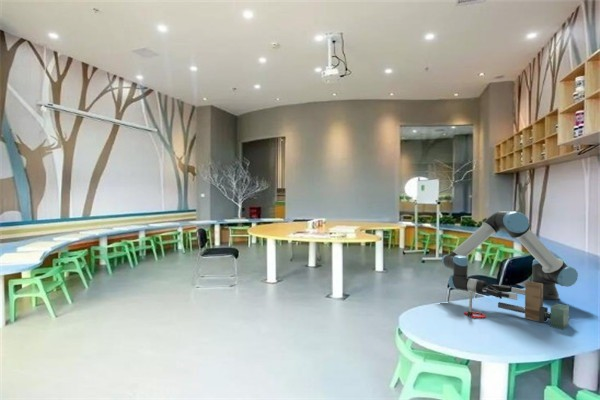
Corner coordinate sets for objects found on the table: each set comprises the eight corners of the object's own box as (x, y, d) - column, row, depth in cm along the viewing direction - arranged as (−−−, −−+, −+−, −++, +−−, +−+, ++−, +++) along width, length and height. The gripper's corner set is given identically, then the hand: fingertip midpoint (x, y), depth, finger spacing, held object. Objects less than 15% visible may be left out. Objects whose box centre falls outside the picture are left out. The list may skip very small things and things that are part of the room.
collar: (542, 318, 171) (542, 306, 171) (547, 319, 170) (547, 307, 170) (539, 321, 168) (539, 309, 168) (543, 322, 166) (544, 310, 166)
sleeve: (528, 315, 176) (529, 281, 176) (542, 318, 171) (543, 283, 171) (524, 318, 172) (525, 283, 172) (539, 321, 168) (539, 285, 167)
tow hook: (476, 313, 182) (462, 314, 179) (477, 288, 182) (463, 289, 179) (489, 318, 174) (475, 319, 171) (490, 293, 174) (476, 293, 171)
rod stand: (502, 309, 187) (502, 292, 187) (568, 324, 165) (568, 305, 165) (495, 313, 181) (495, 296, 181) (563, 329, 159) (563, 310, 159)
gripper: (486, 289, 200) (528, 297, 184) (468, 297, 183) (513, 307, 168) (486, 276, 200) (529, 283, 184) (468, 283, 183) (513, 291, 167)
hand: (521, 294), depth 176 cm, fingers open, 13 cm apart
